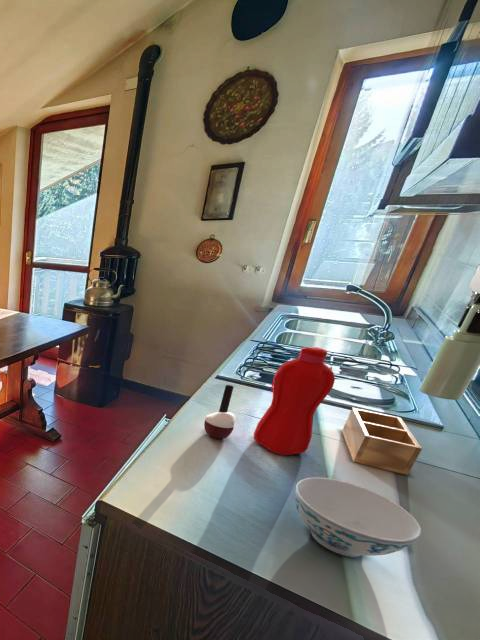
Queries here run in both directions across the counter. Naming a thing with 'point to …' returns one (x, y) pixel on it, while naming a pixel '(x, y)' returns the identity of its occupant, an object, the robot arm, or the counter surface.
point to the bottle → (454, 363)
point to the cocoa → (221, 418)
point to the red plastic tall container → (295, 402)
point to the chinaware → (353, 518)
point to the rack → (380, 441)
